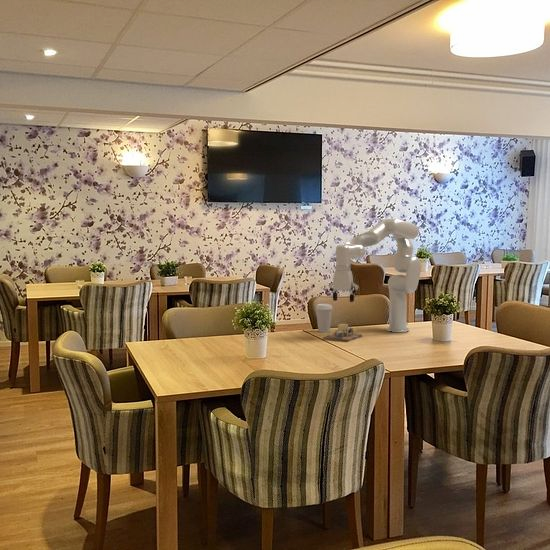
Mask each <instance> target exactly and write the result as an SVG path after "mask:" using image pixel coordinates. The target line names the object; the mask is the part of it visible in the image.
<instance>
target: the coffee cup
mask: <svg viewBox="0 0 550 550" xmlns="http://www.w3.org/2000/svg"><path fill="white" fill-rule="evenodd" d="M315 310H316V320H317V321H316V322H317V331H320V332H319V333H330V332H331V322H332V311H333V306H332V304H329V303H318V304H316V307H315ZM329 331H330V332H329Z"/></svg>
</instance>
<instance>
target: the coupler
mask: <svg viewBox="0 0 550 550" xmlns="http://www.w3.org/2000/svg"><path fill="white" fill-rule="evenodd" d="M348 328H349V324H347V323H340V324H337V332H339V331H344V334H343V337H345V336H346V334H347V333H348Z"/></svg>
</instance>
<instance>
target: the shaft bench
mask: <svg viewBox="0 0 550 550" xmlns="http://www.w3.org/2000/svg"><path fill="white" fill-rule="evenodd" d="M343 334H344V331H339V332H338V331H335V332H334V333H332V334H328V335H325V336H323V337H322V340H326V341H335V342H343V343H350V342H351V341H354V340H356V339H357V340H358V339H361V338H363V334H361V333H354V327H352V326H350V327H349V326H348V333H347V334H346V336H345V337H343Z"/></svg>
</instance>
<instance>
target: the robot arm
mask: <svg viewBox="0 0 550 550" xmlns="http://www.w3.org/2000/svg"><path fill="white" fill-rule="evenodd" d="M419 232H420V230H419V227H418V226H417V224H415V223H413V222H410V221H406V220H402V219H399V218H385V219H382V220H381V221H379V222H378V223H376V224H375V225H374V226H373V227H371V228H370V229H369V230H367V231H365V232H363V233H361V234H359V235H356V236H354V237H353V238H351V239H349V240H348V241H346V242H345V243H344V244H340V245H339V244H338V245H337V246H336V247H335V264H336V265H334V266H333V268H334V269H335V271H334V273H333V282H331V283H329V284H328V288H329V291H331V293H332V300H333V302H334V301H335V302H336V301H338V291H340V292H341V291H344V292H349V293H350V294H349V302H350V303H353V302H354V301H355V294H356V293H357V291H358V289H359V287H360V286H359V285H357V284H356V283H355V282H354V276H353V271H352V270H351V269H352V268H351V264H352V263H351V260H352V259H357V260H358V259H362V258H363V257H365V255H366V247H367V248H368V247H372V246H375V245H377V244H379V243H381V242H382V241H383V240H384V239H385V238H387V237H388V236H389V235H392V237H393V238H394V240H395V242H396V245H397V247H396V248H397V249H396V253H395V259H394V264H393V266H394V267H393V268H394V270H395V271H396V272H398V273H403V274H392V275H391V276H390V277H389V279H388V280H387V287H388V293H389V315H388V316H389V317H388V319H389V320H388V321H389V323H388V325H389V326H388V327H386V331H387V332H390V331H392V332H391V333H407V331H408V332H410V328H408V327H407V326H408V324H409V323H408V320H407V319H408V317H407V316H408V313H407V310H408V307H407V305H408V298H407V294H412V293H414V292H415V291H417V289H418V286H419V282H420V281H419V280H420V276H421V273H422V272H421V271H422V262H421V260H420V258H418V257H417V256H413V248H414V245H413V242H412V240H414V239H416V238H417V237H418V236H419Z"/></svg>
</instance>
